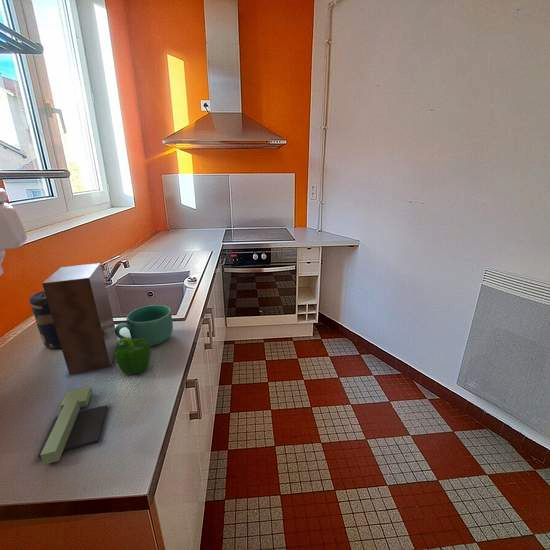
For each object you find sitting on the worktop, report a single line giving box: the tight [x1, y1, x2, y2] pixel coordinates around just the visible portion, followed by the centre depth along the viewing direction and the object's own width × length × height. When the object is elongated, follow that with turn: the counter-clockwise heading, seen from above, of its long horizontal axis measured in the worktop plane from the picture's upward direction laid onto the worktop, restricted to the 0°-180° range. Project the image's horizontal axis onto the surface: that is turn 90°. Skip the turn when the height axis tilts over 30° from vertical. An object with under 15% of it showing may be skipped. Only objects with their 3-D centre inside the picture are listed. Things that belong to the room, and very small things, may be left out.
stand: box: [41, 262, 119, 375], centre depth 84 cm, size 10×14×26 cm
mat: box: [37, 404, 108, 458], centre depth 62 cm, size 10×10×1 cm
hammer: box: [40, 386, 93, 465], centre depth 63 cm, size 19×5×2 cm, turn 18°
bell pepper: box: [114, 337, 151, 375], centre depth 80 cm, size 8×8×10 cm
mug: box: [115, 304, 174, 347], centre depth 93 cm, size 17×13×10 cm
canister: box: [29, 290, 61, 349], centre depth 93 cm, size 10×10×18 cm
